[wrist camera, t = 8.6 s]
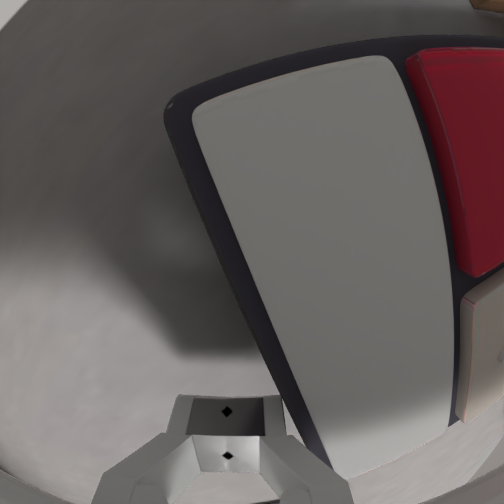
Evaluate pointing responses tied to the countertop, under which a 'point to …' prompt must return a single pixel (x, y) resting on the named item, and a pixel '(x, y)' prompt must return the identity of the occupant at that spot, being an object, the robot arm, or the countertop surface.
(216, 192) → the calculator
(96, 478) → the countertop surface
